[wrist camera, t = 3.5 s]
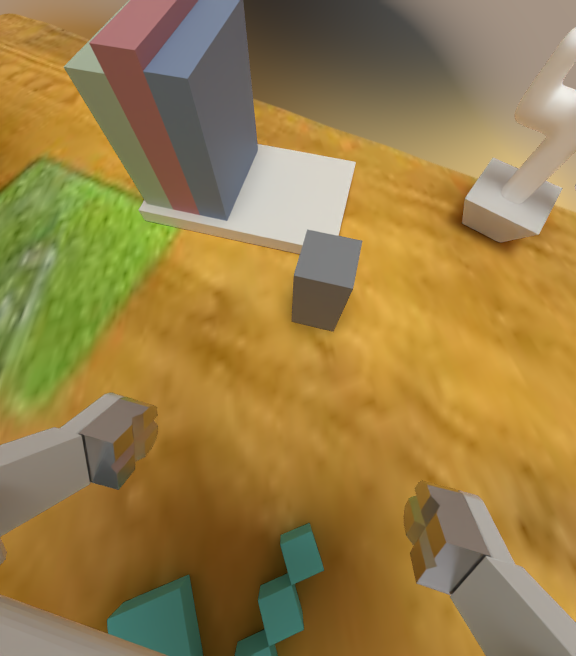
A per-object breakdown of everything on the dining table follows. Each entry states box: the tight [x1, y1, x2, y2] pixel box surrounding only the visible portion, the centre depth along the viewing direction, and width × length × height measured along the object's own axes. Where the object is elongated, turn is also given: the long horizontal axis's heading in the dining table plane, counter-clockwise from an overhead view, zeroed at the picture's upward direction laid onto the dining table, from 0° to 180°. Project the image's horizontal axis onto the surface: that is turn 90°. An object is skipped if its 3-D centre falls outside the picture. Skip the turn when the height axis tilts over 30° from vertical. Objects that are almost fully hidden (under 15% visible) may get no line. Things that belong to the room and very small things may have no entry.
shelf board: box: [64, 0, 356, 254], centre depth 24 cm, size 21×13×14 cm, turn 76°
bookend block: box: [292, 229, 362, 331], centre depth 22 cm, size 4×4×8 cm
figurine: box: [462, 27, 576, 243], centre depth 23 cm, size 7×9×15 cm
